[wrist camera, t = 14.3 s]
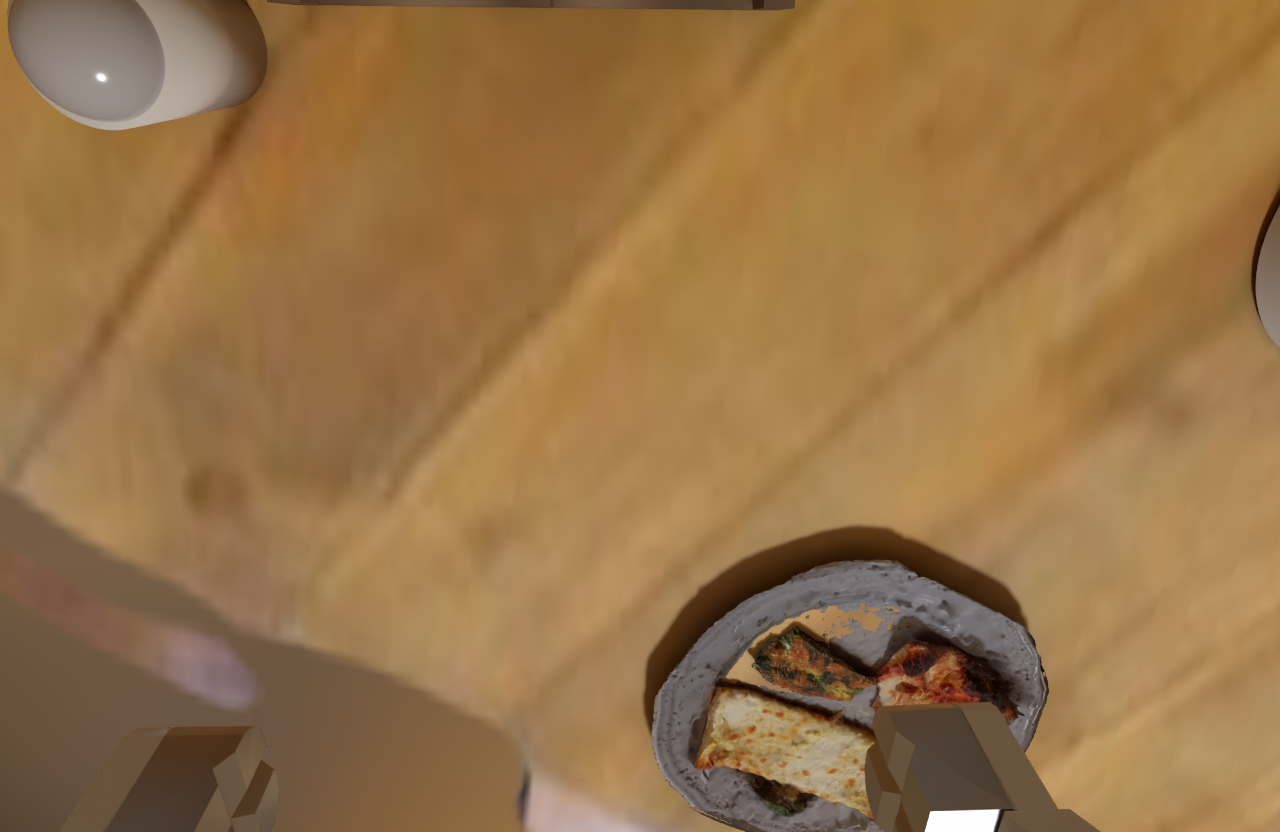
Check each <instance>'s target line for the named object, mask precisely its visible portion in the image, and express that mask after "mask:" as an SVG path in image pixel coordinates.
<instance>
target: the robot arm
mask: <svg viewBox="0 0 1280 832" xmlns="http://www.w3.org/2000/svg"><path fill="white" fill-rule="evenodd" d="M1256 299H1257V306H1258V311H1259V314H1260V318H1261V321H1262V323H1263V325H1264V327H1265V329H1266V331H1267V333H1268V334H1269V336H1270V337H1271V339H1272V340H1273V341H1274V342H1275V344H1276V345H1277V346H1278V347H1279V348H1280V206H1279V208H1278V210H1277V212H1276V214H1275V216H1274V218H1273V220H1272V222H1271V224H1270V226H1269V229H1268V231H1267V234H1266V236H1265V239H1264V242H1263V245H1262V249H1261V252H1260V256H1259V261H1258V266H1257V274H1256ZM872 728H873V730H874V733H875V735H876V738H877V741H876V742H875V743H874V744H873V745H872V746H871V747H870V748H868V749H867V754H866V760H865V767H864V770H865V787H866V793H867V797H868V802H869V806H870V809H871V812H872V815H873V818H874V821H875V824H876V825H877V826H878V827H879V828H880V829H882V830H883V831H884V832H1101V831H1099V830H1098V829H1096V828H1095V827H1094V826H1092V825H1091V824H1090V823H1088V822H1087V821H1085V820H1084V819H1083V818H1081V817H1080V816H1079V815H1077V814H1076V813H1074V812H1073V811H1072V810H1070V809H1058V808H1057V806H1056V804H1055V803H1054V801H1053V799H1052V798H1051V796H1050V794H1049V793H1048V791H1047V789H1046V788H1045V786H1044V784H1043V783H1042V781H1041V779H1040V778H1039V776H1038V774H1037V773H1036V771H1035V769H1034V768H1033V766H1032V764H1031V763H1030V761H1029V759H1028V758H1027V756H1026V754H1025V753H1024V751H1023V749H1022V748H1021V746H1020V744H1019V743H1018V741H1017V739H1016V738H1015V736H1014V734H1013V733H1012V731H1011V729H1010V728H1009V726H1008V724H1007V723H1006V721H1005V719H1004V718H1003V716H1002V714H1001V713H1000V711H999V709H998V708H997V707H996V706H995V705H993V704H992V703H991V702H976V703H953V704H950V703H937V704H914V705H891V706H879V708H878V709H877V710H876V712H875V715H874V719H873V724H872ZM266 747H267V743H266V740H265V737H264V735H263V732H262V729H261V727H254V726H219V727H218V726H213V727H211V726H207V727H143V728H141V727H140V728H135V729H134V730H132V731H131V732H130V733H128V734H127V735H126V736H125V737H123V738H122V740H121V741H120V743H119V744H118V746H117V747H116V748H115V750H114V752H113V753H112V754H111V756H110V757H109V759H108V760H107V762H106V763H105V765H104V766H103V768H102V769H101V770H100V772H99V774H98V775H97V776H96V778H95V780H94V781H93V782H92V784H91V785H90V787H89V788H88V790H87V791H86V793H85V794H84V796H83V797H82V798H81V800H80V801H79V803H78V804H77V806H76V807H75V809H74V810H73V812H72V813H71V815H70V816H69V818H68V819H67V820H66V822H65V823H64V825H63V826H62V828H61V829H60V831H59V832H272V829H273V827H274V823H275V818H276V812H277V807H278V802H279V793H278V781H277V777H276V773H275V770H274V769H273V768H272V767H271V766H269V765H268V764H267V763H265V762H264V761H263V760H261V758H262V756H263V754H264V752H265V749H266Z"/></svg>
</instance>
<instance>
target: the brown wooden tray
mask: <svg viewBox="0 0 1280 832" xmlns="http://www.w3.org/2000/svg"><path fill="white" fill-rule="evenodd" d="M267 2H271V3H282V4H293V5H360V6H447V7H535V8H623V9H711V10H784V9H792V8H794V6H795V0H267Z"/></svg>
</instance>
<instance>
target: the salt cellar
mask: <svg viewBox="0 0 1280 832" xmlns="http://www.w3.org/2000/svg"><path fill="white" fill-rule="evenodd" d="M7 29H8V36H9V40H10V44H11V48H12V50H13V53H14V56H15V58H16V60H17V62H18V64H19V66H20V68H21V70H22V72H23V73H24V75H25V76H26V78H27V80H28V81H29V82H30V83H31V85H32V86H33V87H34V89H35V90H36V91H37V92H38V93H39V94H40V95H41V96H42V97H43V98H44V99H45V100H46V101H47V102H48V103H49V104H51V105H52V106H53V107H54V108H56V109H57V110H58V111H60V112H61V113H63V114H64V115H66V116H68V117H69V118H71V119H73V120H75V121H77V122H80V123H82V124H85V125H88V126H91V127H94V128H99V129H105V130H124V129H129V128H134V127H139V126H144V125H148V124H153V123H158V122H163V121H168V120H173V119H177V118H182V117H187V116H192V115H197V114H202V113H206V112H211V111H216V110H221V109H226V108H231V107H235V106H237V105H240V104H242V103H244V102H246V101H247V100H248V99H250V98H251V97H252V96H253V95H254V94H255V93H256V92H257V90H258V89H259V87H260V86H261V84H262V82H263V79H264V77H265V73H266V68H267V48H266V42H265V38H264V35H263V32H262V29H261V27H260V25H259V23H258V21H257V19H256V18H255V16H254V14H253V13H252V11H251V10H250V9H249V7H248V6H247V5H246V4H245V3H244V2H243V1H242V0H9V3H8V9H7Z"/></svg>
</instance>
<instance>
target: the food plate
mask: <svg viewBox="0 0 1280 832" xmlns="http://www.w3.org/2000/svg"><path fill="white" fill-rule="evenodd" d="M903 567H904V568H906V569H908V570H910V569H909V568H907V567H906V566H905V565H903V564H901V563H900V562H898V561H891V560H878V559H876V560H868V561H866V560H865V559H862V560H854V561H842V562H840V561H838V562H832V563H829V564H826V565H821V566H815V567H814V568H812V569H811V570H810V571H806V573H805V572H802V573H801V574H798V575H797V576H795V575H794V576H793V577H792V579H791V580H789V581H787V582H786V583H785V584H783V585H777V586H776V587H774V588H772V589H769V591H764V592H762V593H759V594H755V595H754V596H753V597H751V599H750V598H749V599H747V600H745V602H742V603H740V604H739V605H738V606H737V607H735V606H734V607H735V609H734V610H732V611H730V612H728V613H726V615H725V616H724V617H722V618H721V619H720V620H719V621H717V622H714V623H715V624H714V625H713V624H712V625H713V627H711V626H712V625H711V626H710V627H709V628H708V629H707V630H706V631H705V633H704V634H703V635H702V636H701V637H700V638H699V639H698V640H697V642H695V644H694V645H693V646H692V647H691V648H690V649H689V650H687V651H688V654H685V657H684V658H683V657H682V660H681V661H680V662H678V663H679V664H678V663H677V666H676V667H675V668H674V670H673V672H671V673H670V675H669V676H668V678H667V682H665V683H664V684H663V686H662V688H660V689H659V692H658V694H657V695H656V696H655V701H654V710H653V713H654V714H653V719H654V722H653V724H652V729H653V730H652V734H651V735H652V740H653V746H652V747H653V748H654V751H655V752H654V754H655V759H656V760H657V761H658V762H657V765H658V766H659V769H660V770H661V772H662V773H663V775H664V777H665V779H666V781H668V782H669V785H670V786H671V787H672V786H673V787H672V788H674V789H675V790H677V791H678V792H679V793H680V794H681V795H682V796H683V797H684V799H685V800H686V802H688V804H691V806H693V807H695V809H700V810H702V811H704V812H706V811H707V812H706V813H707V814H710V815H712V816H713V817H711V816H709V815H707V814H704V813H701V812H699V813H701V814H702V815H704V816H706V817H709V818H711V819H713V820H715V821H717V822H720V823H723V824H725V825H728V826H730V827H734V828H736V829H739V830H743V831H745V832H884V831H883V830H882V829H880V828H879V827H878V826H877V825H876V824H875V821H874V818H873V815H872V812H871V809H870V806H869V802H868V797H867V793H866V787H865V770H864V767H865V760H866V754H867V749H868V748H870V747H871V746H872V745H873V744H874V743H875V742H876V741H877V738H876V735H875V733H874V730H873V728H872V724H873V719H874V715H875V712H876V710H877V709H878V708H879V706H891V705H914V704H937V703H950V704H953V703H976V702H991V703H992V704H993V705H995V706H996V707H997V708H998V709H999V711H1000V713H1001V714H1002V716H1003V718H1004V719H1005V721H1006V723H1007V724H1008V726H1009V728H1010V729H1011V731H1012V733H1013V734H1014V736H1015V738H1016V739H1017V741H1018V743H1019V744H1020V746H1021V748H1022V749H1023V751H1024V753H1025V752H1026V750H1027V749H1028V747H1029V745H1030V743H1031V741H1032V739H1033V737H1034V734H1035V732H1036V728H1037V725H1038V721H1039V719H1040V717H1041V715H1042V710H1043V708H1044V706H1045V704H1046V701H1047V696H1048V693H1049V688H1048V680H1047V677H1046V675H1045V676H1044V675H1043V674H1042V673H1043V672H1045V670H1044V669H1043V667H1042V665H1041V658H1040V657H1041V656H1039V655H1038V653H1037V650H1036V648H1035V646H1036V645H1035V644H1036V643H1035V640H1034V639H1033V637H1032V635H1030V634H1029V632H1028V631H1027V630H1026V628H1024V626H1023V625H1022V624H1020V623H1019V622H1018V621H1017V620H1014V621H1016V622H1017V623H1016V622H1014V621H1012V620H1010V619H1009V618H1008V617H1006V616H1005V615H1003V614H1001V613H999V612H996V611H994V610H993V609H991V608H990V607H989V608H988V607H986V606H984V605H983V604H982V603H980V602H978V601H976V600H973V599H972V598H970V597H968V596H967V595H964V594H963V593H958V592H955V591H954V590H951V589H949V588H947V587H946V586H944V585H943V584H940V583H939V582H938V581H937V580H930V579H928V578H925V577H920V578H918V576H917V575H916V574H917V573H915V572H909V571H908V570H905V569H903ZM910 571H912V570H910ZM859 603H864V604H865V611H864V613H865V614H866V613H869V612H870V611H867V610H868V607H871V608H881V610H879V611H875V612H872V613H877V614H876V616H879V617H881V618H883V617H884V618H885V624H884V623H883V622H884V621H881V622H880V623H881V624H879V625H880V626H879V628H877V630H876V631H877V632H876V633H875V634H874V633H873V632H872V631H868V630H866V629H863V628H862V623H861V622H859V621H858V620H856V621H854V620H853V618H849V619H848V620H849V622H850V625H847V626H842V627H843V628H845V627H850V628H849V630H852V631H855V632H854V633H853V634H847V635H846V636H845V635H841V637H842V639H838V638H837V637H833V638H830V639H829V641H830V645H829V648H828V645H827V644H823V643H825V642H820V641H816V640H815V639H814V638H812V637H811V636H809V635H807V634H805V633H804V632H803V631H800V630H799V628H798V627H797V626H796V625H794V626H793V627H792V631H789V632H786V634H784V635H783V636H781V637H771V638H770V639H769V640H768V641H767V642H765V643H764V644H763V645H762V646H760V648H759V650H760V652H758V653H757V654H756V655H755V657H754V659H755V663H753V664H752V668H754V669H756V670H758V671H759V672H760V674H761V675H762V677H763V678H765V679H766V681H769V682H771V683H772V684H773V685H779V686H781V687H782V688H789V689H790V690H792V691H793V692H797V693H788V692H787V693H786V692H779V691H775V690H770V689H768V688H767V687H765V686H760V687H761V688H758V687H757V686H753V685H748V684H742V683H740V681H737V682H736V684H735V685H734V684H730V683H728V682H723V683H722V680H723V679H724V678H725V677H726V676H727V674H728V672H729V670H731V669H732V667H733V666H734V665H735V664H736V663H737V661H738V660H739V658H740V657H742V656H743V654H744V652H745V651H746V650H747V649H748V648H749V647H750V646H751V645H752V643H753V641H754V640H755V639H756V638H757V637H758V636H759V635H761V634H762V633H764V632H766V631H768V630H769V629H770V628H771V627H773V626H775V625H780V624H782V623H783V621H785V620H786V619H789V618H796V617H799V616H800V615H801V614H802V613H803V612H806V611H809V610H812V609H816V610H819V609H822V611H821V612H822V613H825V610H826V609H827V607H828V606H836V605H838V609H839V610H842V611H844V612H845V613H846V612H851V611H860V610H862V607H861V606H860V605H858V604H859ZM888 606H893V607H895V608H897V609H900V612H897V613H895V612H894V611H893V609H887V608H886V607H888ZM927 606H929V607H927ZM845 610H847V611H845ZM906 610H908V612H907V611H906ZM886 611H888V612H890V613H891V614H887V613H884V612H886ZM904 615H906V617H904ZM850 616H851V615H850ZM887 616H889V617H887ZM891 616H892V617H894V622H893V623H892V619H891V618H890V617H891ZM788 617H789V618H788ZM838 617H840V616H838ZM879 617H878V618H879ZM911 617H913V618H911ZM1011 617H1012V616H1011ZM1012 618H1013V617H1012ZM806 619H809V615H808V616H807V617H806ZM1013 619H1014V618H1013ZM822 620H824V618H823V619H822ZM900 621H902V622H900ZM925 623H929V624H931V625H928V624H927V625H926V626H925ZM1018 623H1019V624H1020V625H1019V624H1018ZM840 624H843V622H841V623H840ZM892 624H893V625H894V628H893V629H892V630H888V629H886V627H887V626H885V625H892ZM907 624H909V625H910V626H911V628H909V627H905V626H906V625H907ZM857 625H859V626H857ZM834 627H835V624H833V625H832V628H834ZM898 627H901V629H898ZM825 632H826V631H825ZM830 633H833V632H832V631H831V632H830ZM835 633H836V632H835ZM835 633H833V634H835ZM881 634H883V635H881ZM826 635H828V634H823V635H822V636H824V637H825V636H826ZM827 637H828V636H827ZM846 657H848V658H846ZM738 685H739V686H738ZM798 693H800V694H802V695H801V697H802V698H801V699H800V697H799V694H798ZM794 702H795V703H794ZM850 705H851V706H850ZM695 809H694V810H695ZM697 812H698V811H697ZM714 817H717V818H718V819H721V820H725V821H727V822H729V823H726V822H724V821H721V820H718V819H716V818H714ZM730 823H732V824H730Z"/></svg>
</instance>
